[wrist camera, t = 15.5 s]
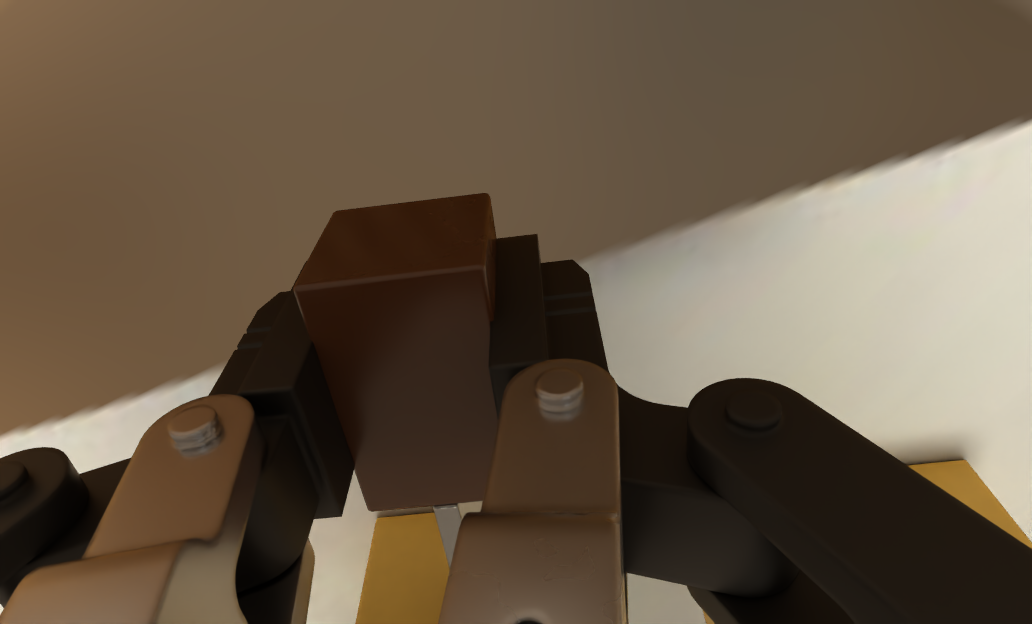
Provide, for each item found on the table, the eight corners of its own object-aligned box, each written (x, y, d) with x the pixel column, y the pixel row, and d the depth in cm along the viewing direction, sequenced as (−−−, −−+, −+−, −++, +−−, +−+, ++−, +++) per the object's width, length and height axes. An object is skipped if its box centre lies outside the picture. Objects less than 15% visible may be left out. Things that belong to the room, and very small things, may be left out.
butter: (965, 458, 16) (1074, 594, 13) (930, 570, 18) (1016, 709, 15) (700, 484, 16) (745, 623, 13) (697, 591, 18) (735, 732, 15)
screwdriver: (332, 209, 10) (290, 288, 8) (489, 191, 10) (484, 265, 8) (469, 687, 17) (463, 794, 15) (563, 679, 17) (571, 787, 15)
